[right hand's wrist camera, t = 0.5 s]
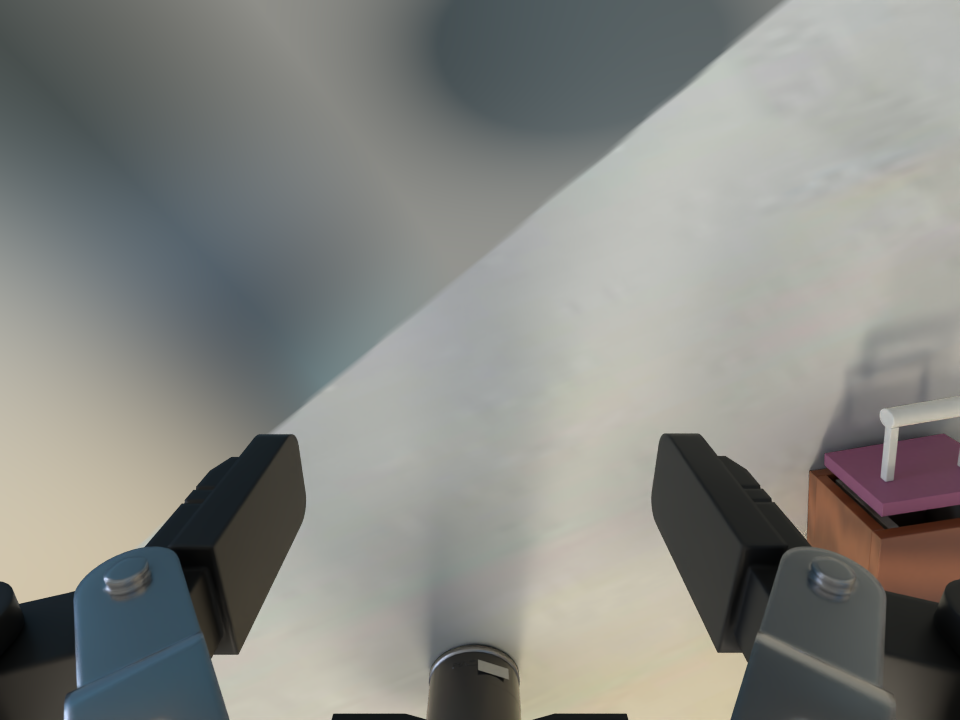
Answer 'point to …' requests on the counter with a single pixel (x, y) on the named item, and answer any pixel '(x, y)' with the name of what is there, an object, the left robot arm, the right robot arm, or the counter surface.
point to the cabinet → (883, 542)
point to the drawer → (904, 469)
